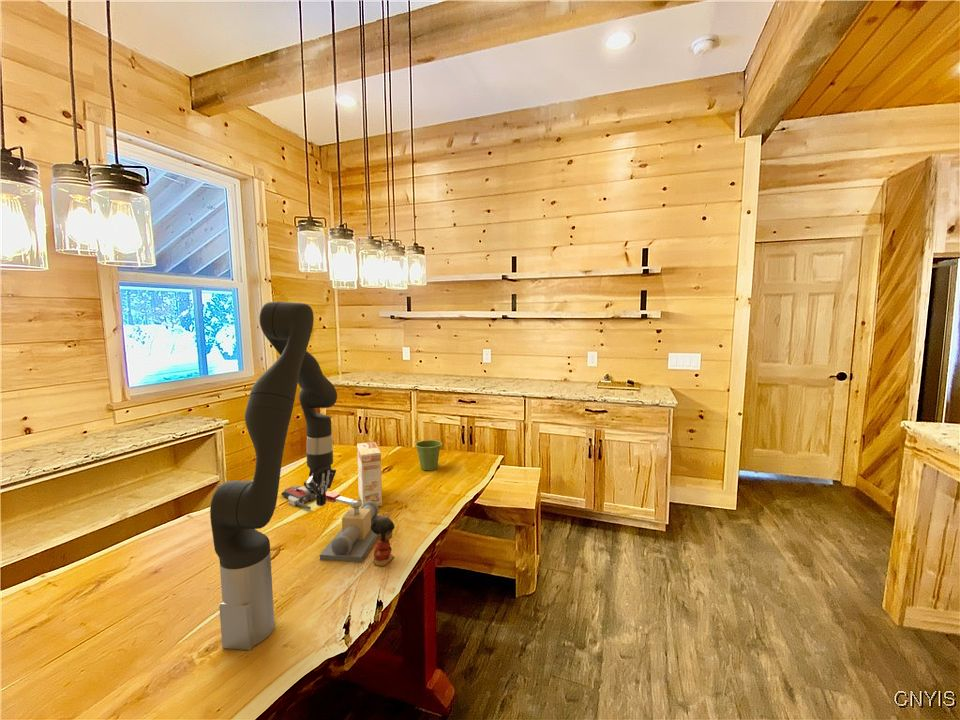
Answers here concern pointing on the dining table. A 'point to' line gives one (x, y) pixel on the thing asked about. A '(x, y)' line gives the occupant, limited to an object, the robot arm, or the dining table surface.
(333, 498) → the lever
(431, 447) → the plant pot
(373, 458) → the coffeecake box
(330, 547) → the valve stand
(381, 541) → the figurine
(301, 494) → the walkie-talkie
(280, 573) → the dining table surface
